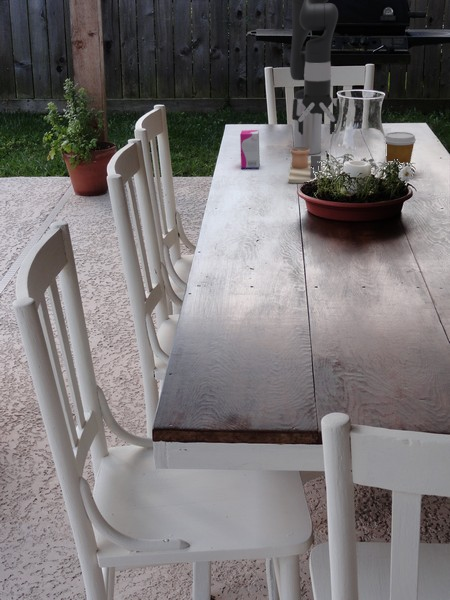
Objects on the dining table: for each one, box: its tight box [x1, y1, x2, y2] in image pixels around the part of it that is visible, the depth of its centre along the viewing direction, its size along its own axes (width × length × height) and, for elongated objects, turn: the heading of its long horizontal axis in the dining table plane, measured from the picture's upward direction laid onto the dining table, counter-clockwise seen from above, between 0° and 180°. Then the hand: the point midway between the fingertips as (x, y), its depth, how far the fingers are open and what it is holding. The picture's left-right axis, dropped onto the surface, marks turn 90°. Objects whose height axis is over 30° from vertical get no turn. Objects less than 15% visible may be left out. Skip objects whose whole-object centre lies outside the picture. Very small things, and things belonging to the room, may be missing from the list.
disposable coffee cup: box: [384, 131, 417, 164], centre depth 242 cm, size 10×10×12 cm
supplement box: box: [239, 129, 261, 170], centre depth 254 cm, size 6×6×12 cm
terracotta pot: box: [289, 146, 310, 169], centre depth 249 cm, size 6×6×6 cm
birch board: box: [288, 155, 323, 184], centre depth 247 cm, size 24×10×7 cm, turn 174°
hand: (316, 133), depth 234 cm, fingers open, 8 cm apart
